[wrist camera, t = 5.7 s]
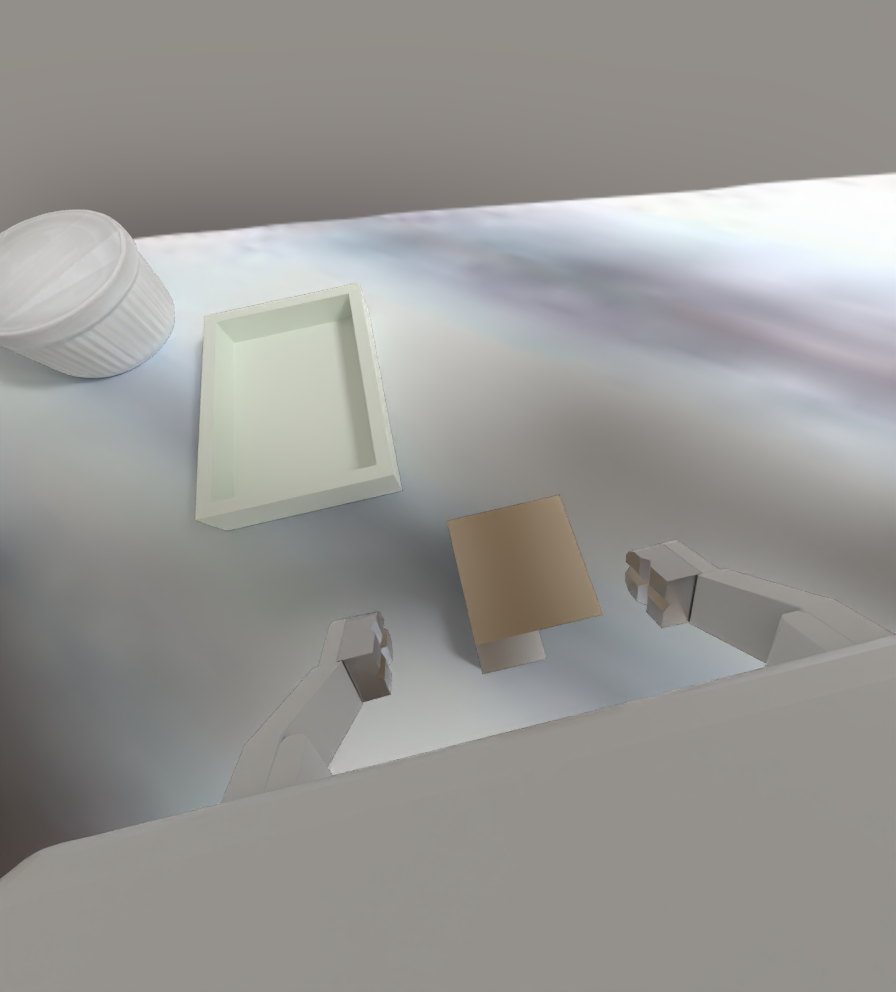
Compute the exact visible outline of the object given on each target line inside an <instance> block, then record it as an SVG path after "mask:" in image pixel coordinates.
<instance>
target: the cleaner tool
mask: <svg viewBox="0 0 896 992" xmlns="http://www.w3.org/2000/svg"><path fill="white" fill-rule="evenodd" d="M447 524H448V528H449V533H450V537H451V541H452V546H453V550H454V554H455V559H456V563H457V567H458V572H459V576H460V580H461V585H462V589H463V594H464V598H465V602H466V607H467V611H468V615H469V620H470V624H471V628H472V633H473V637H474V641H475V645H476V649H477V653H478V657H479V662H480V666H481V670H482V674H486V673H491V672H495V671H499V670H503V669H507V668H511V667H515V666H519V665H524V664H528V663H532V662H536V661H540V660H544V659H547V658H546V654H545V651H544V648H543V644H542V641H541V637H540V634H539V631H538V630H541V629H546V628H550V627H554V626H558V625H562V624H566V623H571V622H575V621H579V620H583V619H587V618H592V617H596V616H600V615H603V613H602V610H601V607H600V605H599V602H598V599H597V596H596V594H595V591H594V588H593V586H592V583H591V580H590V577H589V575H588V572H587V569H586V566H585V564H584V561H583V558H582V555H581V553H580V550H579V547H578V544H577V542H576V539H575V536H574V533H573V531H572V528H571V525H570V522H569V520H568V517H567V514H566V511H565V509H564V506H563V503H562V500H561V498H560V495H556V496H551V497H547V498H543V499H539V500H534V501H530V502H526V503H521V504H517V505H513V506H508V507H504V508H500V509H495V510H491V511H487V512H482V513H478V514H474V515H470V516H465V517H461V518H457V519H452V520H448V521H447Z"/></svg>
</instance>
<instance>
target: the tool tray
mask: <svg viewBox="0 0 896 992" xmlns="http://www.w3.org/2000/svg"><path fill="white" fill-rule="evenodd" d="M399 491H402V486H401V481H400V476H399V470H398V465H397V460H396V454H395V449H394V444H393V438H392V433H391V428H390V422H389V417H388V412H387V406H386V401H385V396H384V390H383V385H382V380H381V374H380V369H379V364H378V358H377V353H376V348H375V342H374V337H373V332H372V326H371V321H370V316H369V311H368V308H367V305H366V302H365V299H364V296H363V293H362V290H361V287H360V284H359V283H355V284H350V285H346V286H341V287H336V288H332V289H327V290H322V291H318V292H313V293H309V294H304V295H299V296H295V297H290V298H285V299H281V300H276V301H272V302H267V303H262V304H258V305H253V306H248V307H244V308H239V309H235V310H230V311H225V312H221V313H216V314H211V315H207V316H204V338H203V359H202V380H201V402H200V423H199V444H198V466H197V487H196V508H195V520H196V521H199V522H202V523H205V524H208V525H211V526H214V527H217V528H220V529H223V530H226V531H229V530H233V529H238V528H242V527H246V526H251V525H255V524H259V523H264V522H268V521H272V520H277V519H281V518H286V517H290V516H294V515H299V514H303V513H307V512H312V511H316V510H320V509H325V508H329V507H333V506H338V505H342V504H347V503H351V502H355V501H360V500H364V499H368V498H373V497H377V496H381V495H386V494H390V493H394V492H399Z"/></svg>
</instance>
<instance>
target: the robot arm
mask: <svg viewBox="0 0 896 992" xmlns="http://www.w3.org/2000/svg"><path fill="white" fill-rule="evenodd" d="M626 562H627V563H628V564H629V565H630V567H629V569H628V570H627V571H626V573H625V581H626V584H627V587H628V590H629V592H630V593H631V595H632V596H633V597H634V598H635V600H636V601H637V602H640V603H642V604H645V605H647V613H648V614H649V615H650V616H651V617H652V618H653V619H654V620H655V621H656V623H657V624H658V625H659V626H660V627H661V628H665V627H669V626H674V625H679V624H683V623H688V622H690V623H689V624H691V625H693V626H695V627H697V628H699V629H701V630H703V631H705V632H707V633H709V634H710V635H712V636H714V637H716V638H718V639H720V640H722V641H724V642H726V643H728V644H730V645H732V646H734V647H736V648H738V649H739V650H741V651H743V652H745V653H747V654H749V655H751V656H753V657H755V658H757V659H759V660H761V661H763V662H765V663H766V665H765V668H761V669H757V670H753V671H749V672H745V673H741V674H737V675H733V676H729V677H725V678H721V679H717V680H713V681H709V682H705V683H701V684H697V685H693V686H689V687H685V688H681V689H677V690H673V691H669V692H665V693H661V694H657V695H653V696H649V697H645V698H641V699H637V700H633V701H629V702H625V703H621V704H618V705H614V706H610V707H606V708H602V709H598V710H594V711H590V712H586V713H582V714H578V715H574V716H570V717H566V718H562V719H558V720H554V721H550V722H546V723H542V724H538V725H534V726H529V727H525V728H521V729H517V730H513V731H509V732H505V733H501V734H497V735H493V736H489V737H485V738H481V739H477V740H473V741H469V742H465V743H461V744H457V745H453V746H449V747H445V748H442V749H438V750H434V751H430V752H426V753H422V754H418V755H414V756H410V757H406V758H402V759H398V760H394V761H390V762H386V763H382V764H378V765H374V766H370V767H366V768H362V769H358V770H354V771H350V772H346V773H342V774H338V775H334V776H333V775H332V774H331V772H330V770H329V769H328V766H329V764H330V762H331V760H332V758H333V757H334V755H335V753H336V751H337V750H338V748H339V746H340V744H341V742H342V741H343V739H344V737H345V735H346V733H347V732H348V730H349V728H350V726H351V725H352V723H353V721H354V719H355V717H356V716H357V714H358V712H359V710H360V709H361V707H362V705H363V703H362V702H366V701H369V700H373V699H376V698H380V697H384V696H387V695H391V679H392V673H391V671H390V668H389V665H390V663H391V662H392V643H391V639H390V635H389V632H388V630H387V629H385V628H384V627H383V624H384V619H383V617H382V614H381V612H379V611H377V612H372V613H368V614H363V615H358V616H354V617H349V618H346V619H341V620H336V621H332V623H331V624H330V625H329V629H328V632H327V636H326V639H325V643H324V647H323V650H322V654H321V658H320V661H319V665H318V667H315V668H313V669H312V670H311V671H310V672H309V673H308V674H307V675H306V677H305V678H304V679H303V680H302V681H301V682H300V683H299V684H298V686H297V687H296V688H295V689H294V690H293V691H292V692H291V693H290V695H289V696H288V697H287V698H286V699H285V700H284V701H283V702H282V704H281V705H280V706H279V707H278V708H277V709H276V710H275V712H274V713H273V714H272V715H271V716H270V717H269V718H268V719H267V721H266V722H265V723H264V724H263V725H262V726H261V727H260V728H259V730H258V731H257V732H256V733H255V734H254V735H253V736H252V737H251V739H250V740H249V741H248V742H247V743H246V744H245V746H244V748H243V751H242V753H241V755H240V758H239V760H238V763H237V765H236V768H235V770H234V773H233V775H232V778H231V780H230V782H229V785H228V787H227V790H226V792H225V795H224V797H223V800H222V802H221V804H218V805H214V806H210V807H206V808H202V809H198V810H194V811H190V812H186V813H182V814H178V815H174V816H170V817H166V818H162V819H158V820H154V821H150V822H146V823H142V824H138V825H134V826H130V827H126V828H122V829H118V830H114V831H110V832H106V833H102V834H98V835H94V836H90V837H85V838H81V839H77V840H72V841H68V842H64V843H60V844H57V845H53V846H50V847H47V848H44V849H42V850H40V851H38V852H36V853H34V854H33V855H31V856H29V857H28V858H26V859H25V860H23V861H22V862H21V863H19V864H18V865H17V866H16V867H14V868H13V869H12V870H11V871H9V872H8V873H7V874H6V875H4V876H3V877H2V878H1V879H0V992H896V635H895V634H893V633H891V632H889V631H888V630H886V629H884V628H883V627H881V626H879V625H878V624H876V623H874V622H872V621H871V620H869V619H867V618H866V617H864V616H862V615H861V614H859V613H857V612H855V611H854V610H852V609H850V608H849V607H847V606H845V605H844V604H842V603H840V602H838V601H837V600H834V599H830V598H827V597H823V596H820V595H816V594H813V593H809V592H806V591H802V590H799V589H795V588H792V587H788V586H785V585H781V584H778V583H774V582H771V581H767V580H764V579H760V578H757V577H753V576H750V575H746V574H743V573H739V572H736V571H732V570H729V569H725V568H724V569H718V568H717V567H715V566H714V565H713V564H711V563H710V562H708V561H707V560H705V559H704V558H703V557H701V556H700V555H698V554H697V553H695V552H694V551H693V550H691V549H690V548H688V547H687V546H686V545H684V544H683V543H681V542H680V541H677V540H671V541H668V542H664V543H660V544H657V545H653V546H649V547H645V548H641V549H637V550H632V551H629V552H628V554H627V555H626Z"/></svg>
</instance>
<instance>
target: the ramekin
mask: <svg viewBox="0 0 896 992" xmlns="http://www.w3.org/2000/svg"><path fill="white" fill-rule="evenodd" d="M174 322H175V311H174V304H173V300H172V298H171V296H170V294H169V292H168V291H167V289H166V288H165V286H164V285H163V284H162V282H161V281H160V279H159V278H158V277H157V275H156V274H155V273H154V271H153V270H152V269H151V267H150V266H149V265H148V263H147V262H146V261H145V259H144V258H143V257H142V255H141V254H140V253H139V251H138V249H137V246H136V244H135V242H134V240H133V239H132V237H131V236H130V235H129V234H128V232H127V231H126V230H125V229H124V228H123V227H122V226H121V225H120V224H119V223H118V222H116V221H115V220H114V219H112V218H111V217H108V216H107V215H105V214H102V213H98V212H95V211H90V210H63V211H56V212H51V213H47V214H43V215H40V216H36V217H34V218H31V219H28V220H25V221H23V222H20V223H18V224H17V225H15V226H12V227H10V228H9V229H7V230H5V231H3V232H2V233H0V347H5V348H7V349H9V350H11V351H14V352H16V353H18V354H20V355H22V356H25V357H27V358H29V359H32V360H34V361H36V362H38V363H41V364H43V365H45V366H48V367H50V368H52V369H54V370H57V371H59V372H62V373H64V374H68V375H71V376H76V377H84V378H104V377H111V376H115V375H119V374H122V373H125V372H127V371H130V370H132V369H134V368H136V367H138V366H139V365H141V364H143V363H144V362H146V361H147V360H148V359H150V358H151V357H152V356H153V355H155V354H156V353H157V352H158V351H159V350H160V349H161V347H162V346H163V345H164V344H165V342H166V341H167V339H168V338H169V336H170V334H171V332H172V329H173V327H174Z"/></svg>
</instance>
